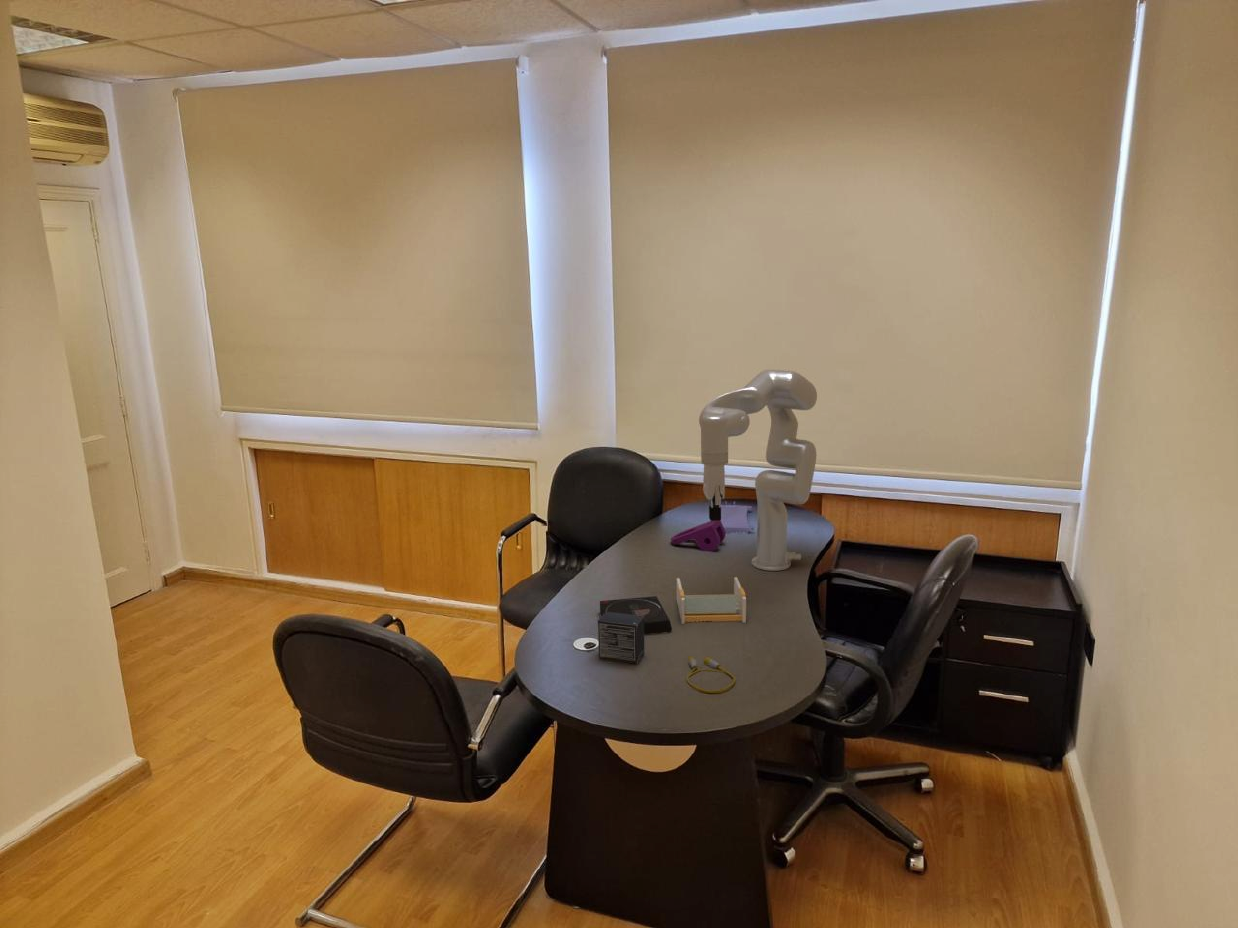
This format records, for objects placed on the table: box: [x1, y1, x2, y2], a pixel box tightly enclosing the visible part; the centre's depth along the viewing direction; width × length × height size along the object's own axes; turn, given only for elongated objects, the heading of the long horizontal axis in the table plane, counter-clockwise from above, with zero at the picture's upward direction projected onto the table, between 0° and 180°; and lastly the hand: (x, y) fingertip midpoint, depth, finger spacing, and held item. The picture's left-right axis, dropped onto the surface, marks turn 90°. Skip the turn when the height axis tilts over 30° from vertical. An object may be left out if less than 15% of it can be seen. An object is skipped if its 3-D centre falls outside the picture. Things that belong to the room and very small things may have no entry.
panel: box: [684, 593, 737, 616], centre depth 224 cm, size 14×2×6 cm, turn 90°
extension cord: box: [686, 656, 736, 694], centre depth 192 cm, size 12×16×2 cm
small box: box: [597, 612, 645, 665], centre depth 202 cm, size 11×6×10 cm, turn 71°
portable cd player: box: [599, 595, 673, 635], centre depth 222 cm, size 16×17×4 cm
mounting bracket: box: [670, 520, 727, 553], centre depth 283 cm, size 9×8×18 cm
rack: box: [676, 576, 747, 625], centre depth 228 cm, size 18×16×8 cm
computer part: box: [721, 500, 755, 534], centre depth 309 cm, size 30×4×15 cm
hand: (715, 519), depth 230 cm, fingers closed
